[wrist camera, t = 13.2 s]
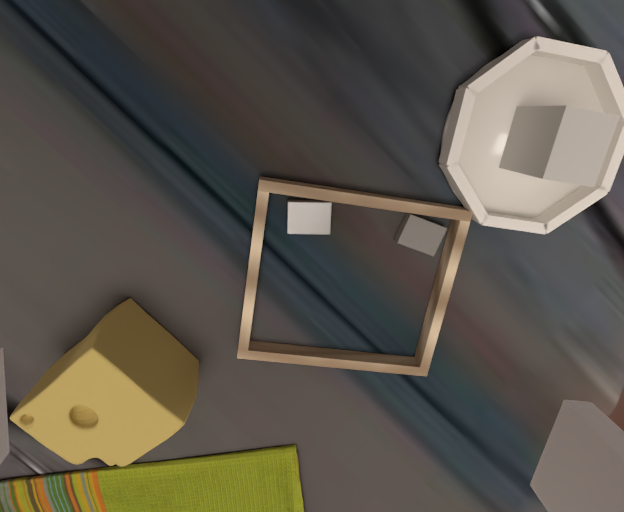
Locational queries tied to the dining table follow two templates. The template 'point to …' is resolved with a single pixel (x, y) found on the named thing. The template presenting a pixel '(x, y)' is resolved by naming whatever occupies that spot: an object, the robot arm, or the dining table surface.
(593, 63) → the bowl
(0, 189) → the dining table surface
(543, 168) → the pale grey block
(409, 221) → the grey rectangular block
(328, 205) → the light grey block
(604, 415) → the robot arm
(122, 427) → the cheese
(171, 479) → the dish towel
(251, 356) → the wooden frame
